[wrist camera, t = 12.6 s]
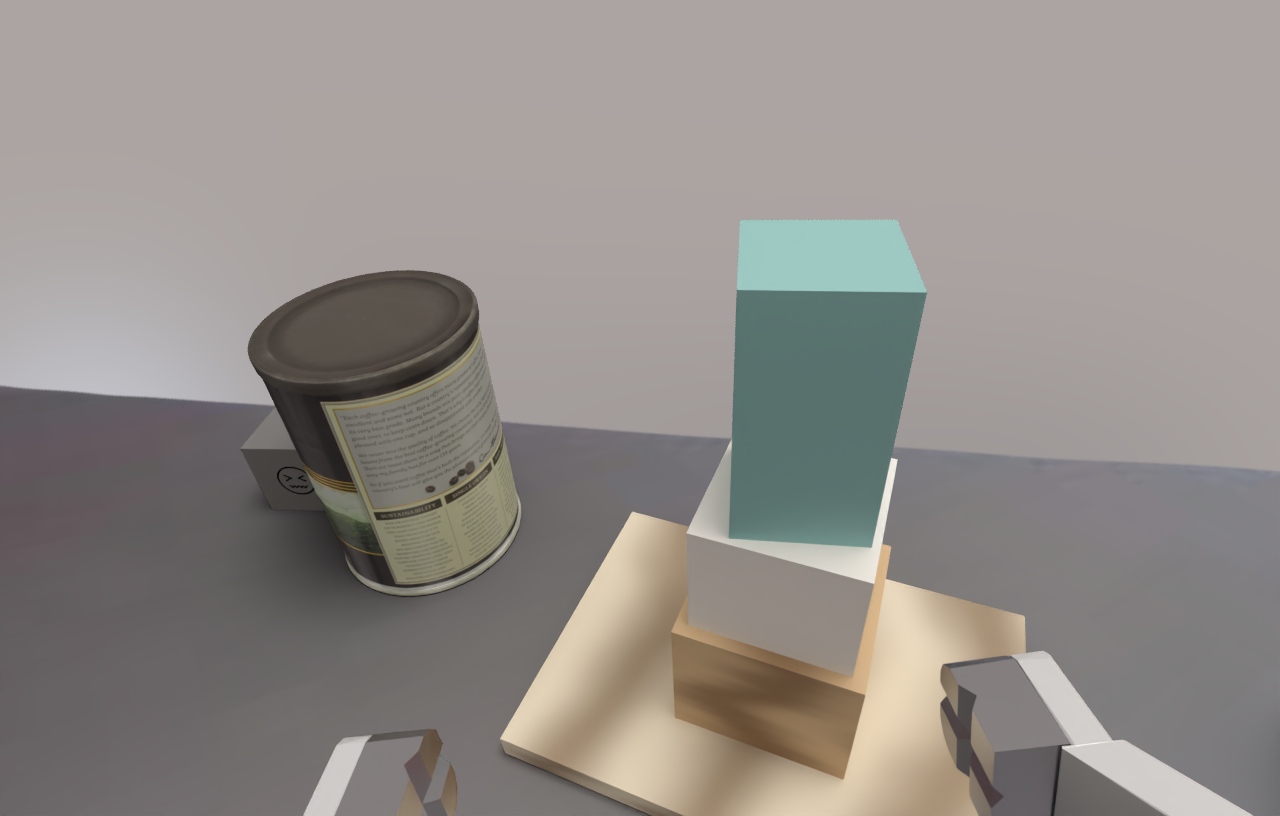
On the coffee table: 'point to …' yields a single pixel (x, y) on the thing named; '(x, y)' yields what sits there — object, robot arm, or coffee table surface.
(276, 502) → the dice cube
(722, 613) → the white block
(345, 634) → the coffee table surface
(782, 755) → the oak block
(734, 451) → the teal block
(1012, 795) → the robot arm
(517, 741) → the birch board
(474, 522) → the coffee can
